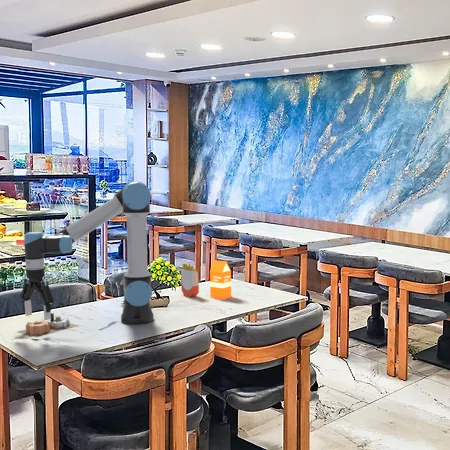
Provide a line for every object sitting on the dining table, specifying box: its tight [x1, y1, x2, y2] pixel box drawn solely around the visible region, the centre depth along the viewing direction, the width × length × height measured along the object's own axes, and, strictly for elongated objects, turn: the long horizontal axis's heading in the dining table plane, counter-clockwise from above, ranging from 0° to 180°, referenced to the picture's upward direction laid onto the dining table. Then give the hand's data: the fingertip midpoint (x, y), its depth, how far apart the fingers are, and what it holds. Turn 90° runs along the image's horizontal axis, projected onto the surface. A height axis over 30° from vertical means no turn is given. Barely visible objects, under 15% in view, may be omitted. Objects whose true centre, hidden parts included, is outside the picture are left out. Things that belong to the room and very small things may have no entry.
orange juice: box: [209, 259, 232, 300], centre depth 315 cm, size 8×9×20 cm
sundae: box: [117, 274, 124, 302], centre depth 305 cm, size 7×7×15 cm
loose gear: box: [25, 319, 50, 335], centre depth 247 cm, size 10×10×4 cm
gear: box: [46, 312, 71, 329], centre depth 255 cm, size 10×10×6 cm
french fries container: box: [180, 263, 200, 298], centre depth 319 cm, size 5×11×18 cm, turn 39°
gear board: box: [17, 316, 79, 342], centre depth 251 cm, size 14×22×6 cm, turn 143°
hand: (38, 317), depth 247 cm, fingers open, 13 cm apart
